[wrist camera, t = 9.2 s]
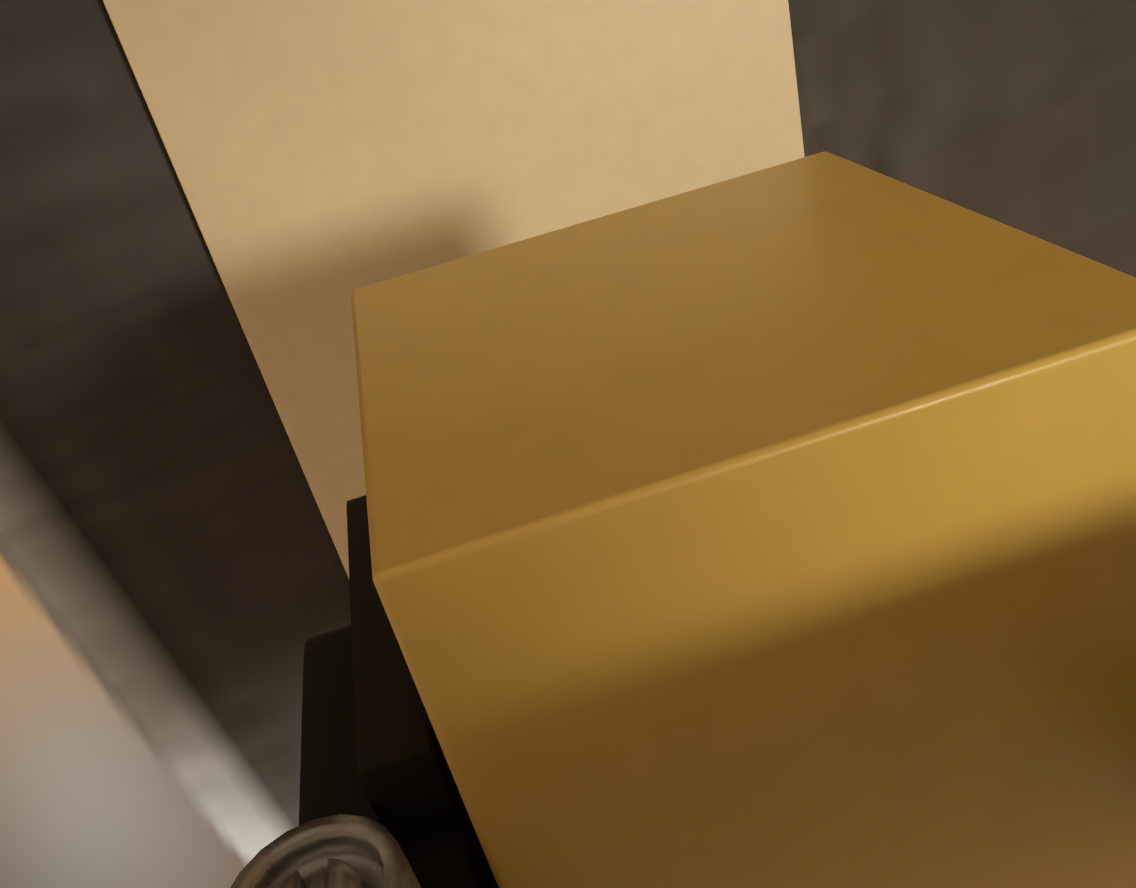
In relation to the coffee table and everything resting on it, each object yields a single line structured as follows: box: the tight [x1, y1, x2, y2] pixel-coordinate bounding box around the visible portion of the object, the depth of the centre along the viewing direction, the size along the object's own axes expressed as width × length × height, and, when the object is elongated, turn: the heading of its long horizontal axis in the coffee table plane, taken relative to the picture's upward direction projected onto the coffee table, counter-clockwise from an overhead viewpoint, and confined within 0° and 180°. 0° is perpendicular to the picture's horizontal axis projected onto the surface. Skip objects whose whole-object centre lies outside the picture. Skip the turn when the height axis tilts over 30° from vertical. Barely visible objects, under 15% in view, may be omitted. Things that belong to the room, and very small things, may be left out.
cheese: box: [351, 152, 1136, 888], centre depth 9 cm, size 7×5×5 cm
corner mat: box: [103, 0, 804, 578], centre depth 17 cm, size 16×10×1 cm, turn 13°
